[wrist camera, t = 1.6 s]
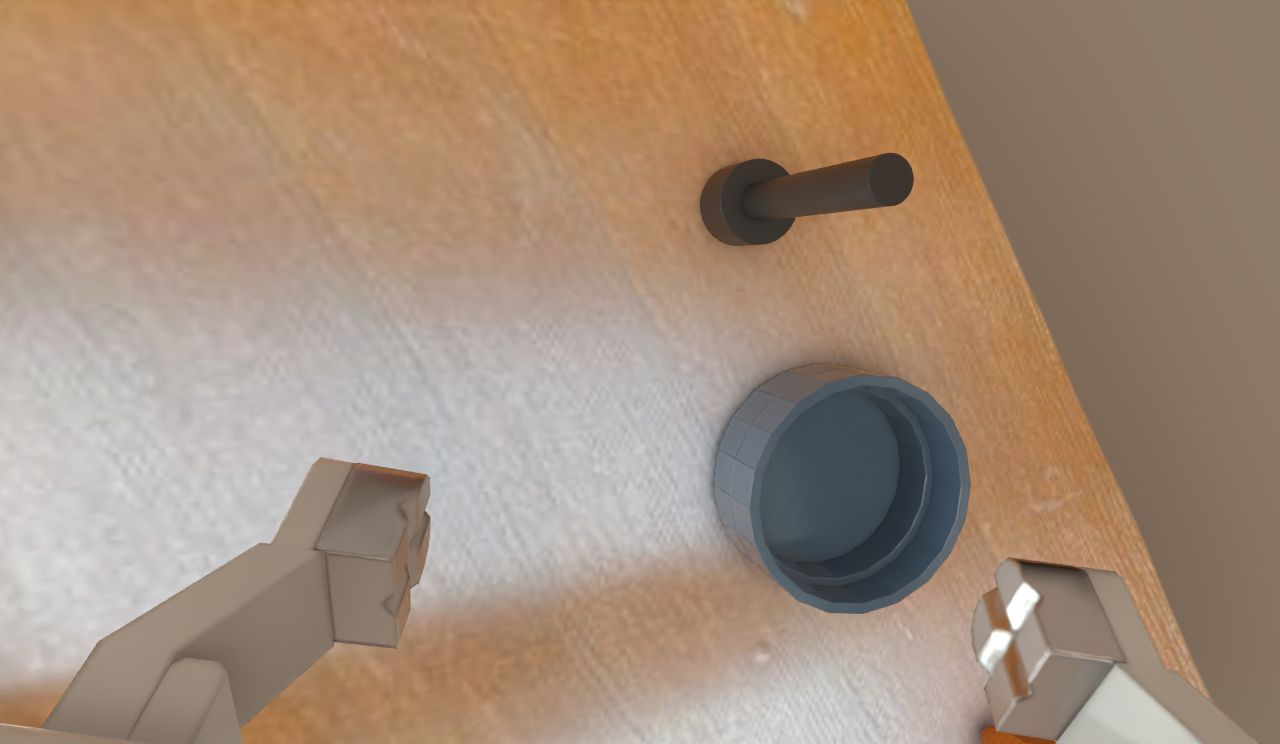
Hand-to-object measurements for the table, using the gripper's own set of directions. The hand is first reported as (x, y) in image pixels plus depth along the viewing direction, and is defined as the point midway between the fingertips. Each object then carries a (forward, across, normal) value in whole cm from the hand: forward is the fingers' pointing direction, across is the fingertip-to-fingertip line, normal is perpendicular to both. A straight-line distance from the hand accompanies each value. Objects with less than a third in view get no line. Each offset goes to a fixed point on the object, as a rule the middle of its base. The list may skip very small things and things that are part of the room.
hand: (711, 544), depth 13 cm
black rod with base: (+37, -4, +12) cm, 39 cm away
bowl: (+31, -11, +26) cm, 42 cm away
